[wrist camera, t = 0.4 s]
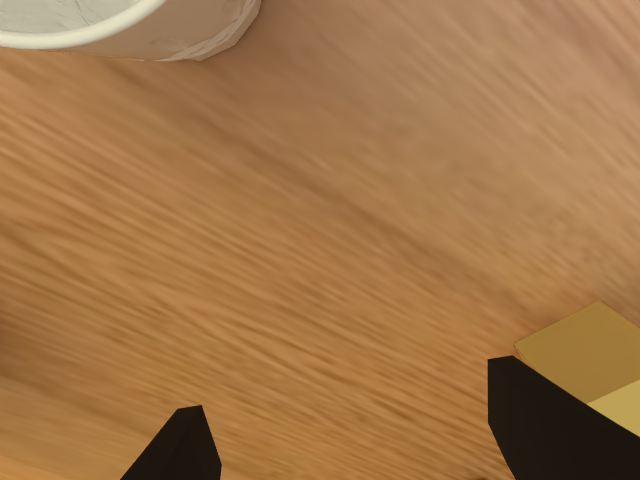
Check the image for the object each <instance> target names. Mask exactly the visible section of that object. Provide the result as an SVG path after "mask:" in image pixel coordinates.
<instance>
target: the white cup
mask: <svg viewBox="0 0 640 480" xmlns="http://www.w3.org/2000/svg"><path fill="white" fill-rule="evenodd" d="M261 1H262V0H0V46H2V47H8V48H16V49H27V50H38V51H49V52H59V53H69V54H79V55H89V56H98V57H109V58H119V59H128V60H139V61H161V62H168V61H176V60H194V61H202V60H204V59H207V58H209V57H211V56H213V55H215V54H217V53H220V52H222V51H224V50H226V49H228V48H230V47H233V46H235V45H236V43H237V42H238V41H239V39H240V38H241V37H242V35H243V34H244V33H245V31H246V30H247V29H248V27H249V26H250V25H251V23H252V22H253V21H254V19H255V18H256V17H257V15H258V14H259V10H260V5H261Z"/></svg>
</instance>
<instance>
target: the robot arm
mask: <svg viewBox="0 0 640 480" xmlns="http://www.w3.org/2000/svg"><path fill="white" fill-rule="evenodd" d="M488 424H489V426H490V428H491V430H492V432H493V435H494V437H495V439H496V441H497V444H498V446H499V448H500V450H501V452H502V454H503V456H504V459H505V461H506V463H507V465H508V467H509V468H510V470H511V472H512V474H513V475H514V477H515V479H516V480H640V437H639V436H638V435H636V434H634V433H632V432H631V431H629V430H627V429H626V428H624V427H622V426H621V425H619V424H617V423H616V422H614V421H612V420H611V419H609V418H607V417H606V416H604V415H603V414H601V413H599V412H598V411H596V410H595V409H593V408H591V407H590V406H588V405H587V404H585V403H584V402H582V401H580V400H579V399H577V398H576V397H574V396H573V395H571V394H570V393H568V392H567V391H565V390H564V389H562V388H561V387H559V386H558V385H556V384H555V383H553V382H552V381H550V380H549V379H547V378H546V377H544V376H543V375H541V374H540V373H538V372H537V371H535V370H534V369H532V368H531V367H529V366H528V365H526V364H525V363H523V362H522V361H520V360H519V359H517V358H515V357H514V356H506V357H499V358H493V359H488ZM221 467H222V464H221V461H220V458H219V455H218V452H217V449H216V446H215V443H214V440H213V437H212V435H211V432H210V429H209V426H208V423H207V420H206V417H205V414H204V411H203V408H202V405H199V406H192V407H186V408H180V409H177V410H176V411H175V413H174V414H173V415H172V416H171V417H170V419H169V420H168V421H167V422H166V424H165V425H164V426H163V427H162V429H161V430H160V431H159V432H158V434H157V435H156V436H155V437H154V439H153V440H152V441H151V442H150V444H149V445H148V446H147V447H146V449H145V450H144V451H143V452H142V454H141V455H140V456H139V457H138V458H137V460H136V461H135V462H134V463H133V465H132V466H131V467H130V468H129V469H128V471H127V472H126V473H125V474H124V476H123V477H122V478H121V479H120V480H220V476H221Z"/></svg>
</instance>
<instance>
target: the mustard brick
mask: <svg viewBox="0 0 640 480" xmlns="http://www.w3.org/2000/svg"><path fill="white" fill-rule="evenodd" d="M514 346H515V348H516V350H517V351H518V353H519V355H520V357H521V359H522V361H523V363H525V364H526V365H528V366H529V367H531V368H532V369H534V370H535V371H537V372H538V373H540V374H541V375H543V376H544V377H546V378H547V379H549V380H550V381H552V382H553V383H555V384H556V385H558V386H559V387H561V388H562V389H564V390H565V391H567V392H568V393H570V394H571V395H573V396H574V397H576V398H577V399H579V400H580V401H582V402H584V403H585V404H587V405H588V406H590V407H591V408H593V409H595V410H596V411H598V412H599V413H601V414H603V415H604V416H606V417H607V418H609V419H611V420H612V421H614V422H616V423H617V424H619V425H621V426H622V427H624V428H626V429H627V430H629V431H631V432H632V433H634V434H636V435H638V436H639V437H640V328H639V327H637V326H636V325H634V324H633V323H631V322H630V321H629V320H627V319H626V318H624V317H623V316H621V315H620V314H618V313H617V312H615V311H614V310H613V309H611V308H610V307H608V306H607V305H605V304H604V303H602V302H601V301H597V302H595V303H593V304H591V305H589V306H587V307H585V308H583V309H581V310H579V311H577V312H575V313H573V314H571V315H569V316H567V317H565V318H563V319H561V320H559V321H557V322H555V323H553V324H551V325H549V326H547V327H545V328H543V329H541V330H539V331H537V332H535V333H534V334H532V335H530V336H528V337H526V338H524V339H522V340H520V341H518V342H516V343H514Z"/></svg>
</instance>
